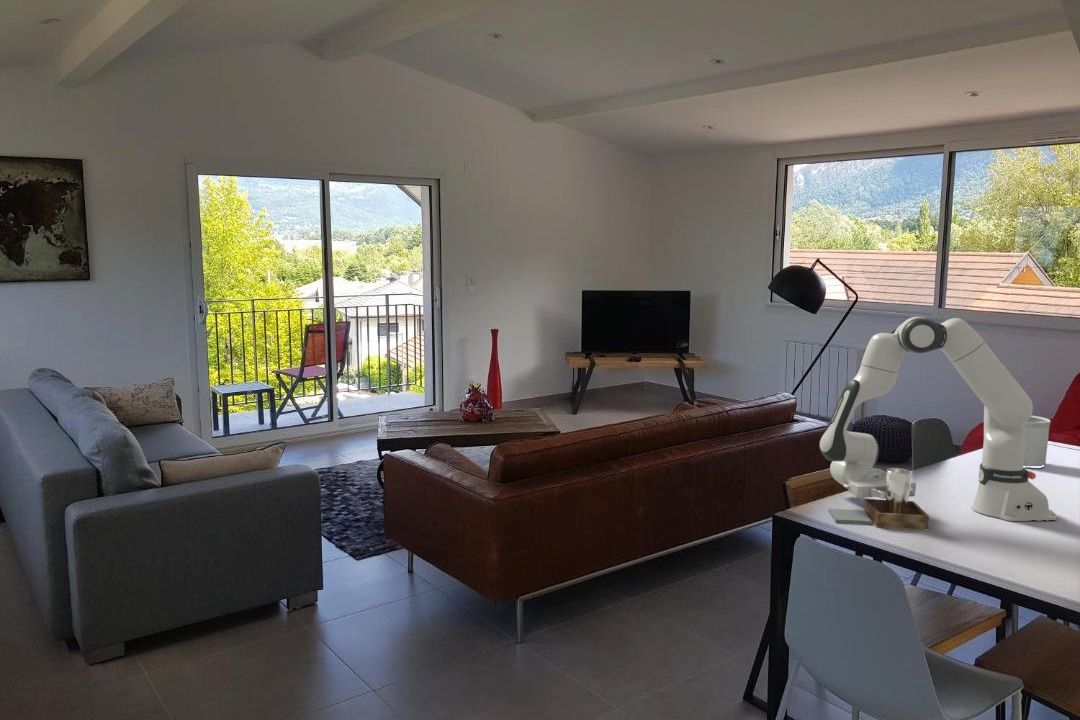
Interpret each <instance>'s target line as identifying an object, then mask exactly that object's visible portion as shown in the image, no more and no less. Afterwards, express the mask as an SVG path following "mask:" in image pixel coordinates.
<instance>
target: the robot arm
mask: <svg viewBox="0 0 1080 720" xmlns="http://www.w3.org/2000/svg"><path fill="white" fill-rule="evenodd" d="M936 350H939V351H941V352H942V353H943V354H944V355H945V357H946V358H947V359H948V360H949V362H950V363H951V364H952V366H953V367H954V368H955V370H956V371H957V372H958V374H959V375H960V376H961V377H962V378H963V380H964V381H965V383H966V384H967V385H968V386H969V388H970V389H971V390H972V391H973V392H974V394H975V395H976V397H977V398H978V399H979V401H980V402H981V403H982V404H983V405H984V406H983V446H982V455H981V459H982V460H981V463H980V464H979V471H978V482H979V483H978V487H977V492H976V495H975V498H974V500H973V504H972V506H971V508H972V510H974V511H975V512H977V513H980V514H982V515H985V516H989V517H994V518H998V519H1001V520H1004V521H1008V522H1009V521H1010V522H1033V521H1032V520H1037V521H1038V522H1039V521H1040V522H1044V521H1043V520H1046V521H1045V522H1048V521H1049V520H1056V519H1057V518H1058V517H1057V514H1056V513H1055V512H1054V511H1052V510H1051V509H1050V507H1049V501H1048V497H1047V496H1046V495H1045V493H1043V492H1042V491H1041V490H1040V489H1039V488H1038V487H1036V486H1035V485H1034V484H1033V483H1031V482H1030V481H1029V479H1030V480H1035V479H1036V477H1037V474H1036V473H1035V472H1033V471H1029V470H1028V469H1027V468H1023V464H1024V454H1025V422H1027V421H1028V420H1029V419H1030V417H1031V416H1033V415H1032V414H1033V411H1034V407H1033V406H1034V405H1033V401H1032V399H1031V398H1030V396H1029V394H1027V393H1026V391H1025V390H1024V389H1023V388H1022V386H1021V385H1020V384H1019V383H1018V382H1017V380H1016V379H1015V377H1013V375H1012V374H1011V373H1010V371H1009V370H1008V369H1007V368H1006V367H1005V365H1004V364H1003V363H1002V362H1001V361H1000V360H999V358H998V357H997V356H996V354H995V353H994V351H992V349H991V348H990V347H989V345H988V344H987V342H985V340H984V339H983V338H982V337H981V336H980V334H979V333H978V332H977V331H976V330H975V329H974V328H973V327H972V326H971V325H970V324H968V323H967V322H966V321H965V320H963V319H962V318H959V317H953V318H950V319H947V320H945V321H943V322H941V323H939V322H937V321H935V320H931V319H929V318H926V317H922V316H911V317H908V318H906V319H904V320H903V321H902V322H901V323H899V324H898V325H897V326H896V328H894V330H892V332H891V333H890V332H889V333H888V332H879V333H876V334H874V335H872V336H871V338H870V340H869V342H868V344H867V346H866V349H865V351H864V353H863V357H862V360H861V364H860V368H859V369H858V372H857V373H856V375H855V376H854V377H853V379H852V380H850V381H848V382H847V383H846V384H845V386H844V388H843V389H842V392H841V394H840V396H839V398H838V401H837V402H836V403H837V404H836V406H835V408H834V411H833V413H832V415H831V418H830V420H829V423H828V425H827V427H826V428H825V430H824V432H823V433H822V434H821V437H820V439H819V442H818V443H819V444H818V446H819V450H820V452H821V454H822V455H823V457H824V458H825V459H826V460H827V461H829V462H831V463H830V466H829V471H830V475H831V476H832V478H833V480H835V481H836V482H838V484H840V485H842V487H843V488H845V489H847V490H848V493H850V494H851V495H852V496H854V497H857V498H862V499H863V498H865V499H866V498H879V499H881V500H886V498H887V495H888V494H887V492H885V479H886V473H887V469H880V468H876V467H875V466H876V463H877V461H878V459H879V454H880V447H879V446H880V445H879V443H878V441H877V439H876V437H875V436H874V435H872V434H871V433H865V432H864V433H863V432H857V431H849V430H847V429H848V428H849V425H850V422H851V420H852V417H853V415H854V413H855V411H856V409H857V407H858V406H859V405H861V404H862V403H863V402H866V401H868V400H872V399H876V398H879V397H883V396H885V395H886V394H888V393H889V392H890V391H892V390H893V389H894V386H895V384H896V383H897V379H898V375H899V372H900V371H899V370H900V368H901V367H900V364H901V362H902V360H903V359H904V357H905V356H906V355H907V354H909V353H915V354H926V353H929V352H932V351H936ZM916 491H917V483H916V481H914V479H911V490H910V495H909V498H910V497H915V496H916ZM1030 520H1031V521H1030ZM1041 520H1042V521H1041ZM1057 520H1058V519H1057ZM1057 520H1056V521H1057ZM1037 521H1036V522H1037ZM1049 522H1050V521H1049Z"/></svg>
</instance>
